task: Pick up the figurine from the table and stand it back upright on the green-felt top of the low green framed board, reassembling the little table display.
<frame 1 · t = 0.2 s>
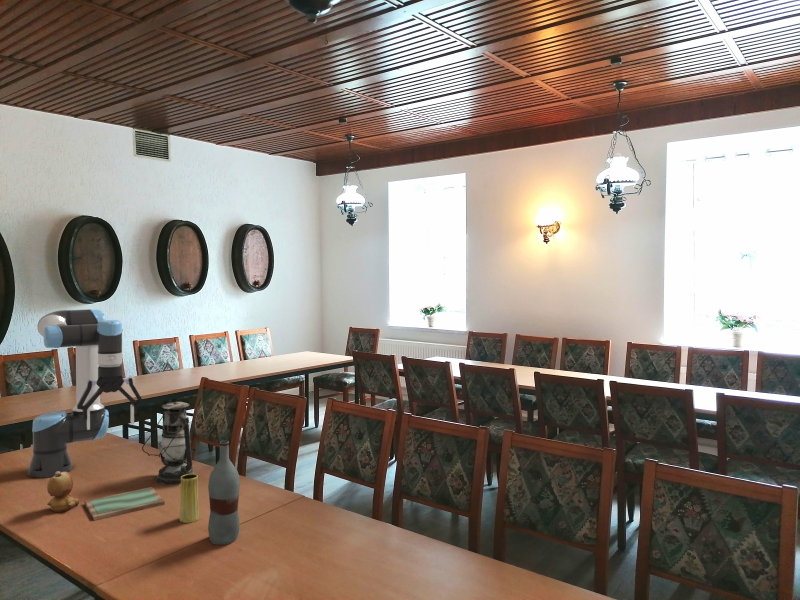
hand: (110, 426, 197), 27 cm above the table, fingers open, 13 cm apart
figurine: (61, 509, 194), on the table
lantern: (171, 480, 223), on the table
vase: (189, 519, 188), on the table
green framed board: (124, 504, 199), on the table
bottle: (224, 539, 174), on the table
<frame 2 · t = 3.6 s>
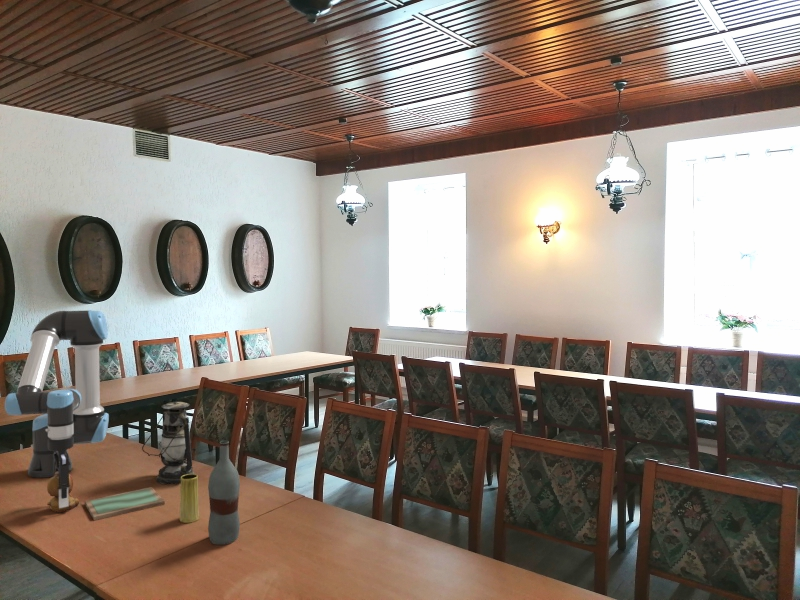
hand: (61, 502, 194), 2 cm above the table, fingers closed on figurine, 9 cm apart
figurine: (61, 510, 194), on the table, touching gripper
everything else where it was.
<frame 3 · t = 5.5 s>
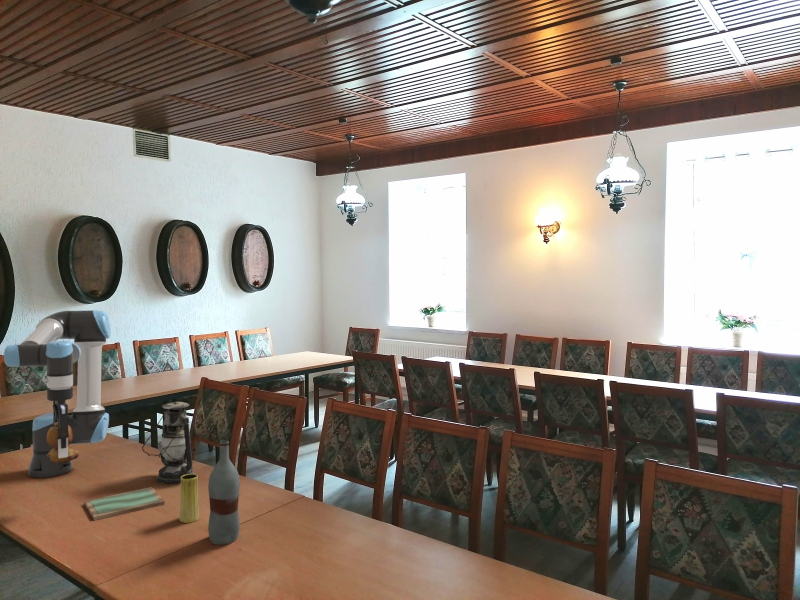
hand: (61, 453, 193), 19 cm above the table, fingers closed on figurine, 9 cm apart
figurine: (61, 461, 193), point 17 cm above the table, touching gripper
everything else where it was.
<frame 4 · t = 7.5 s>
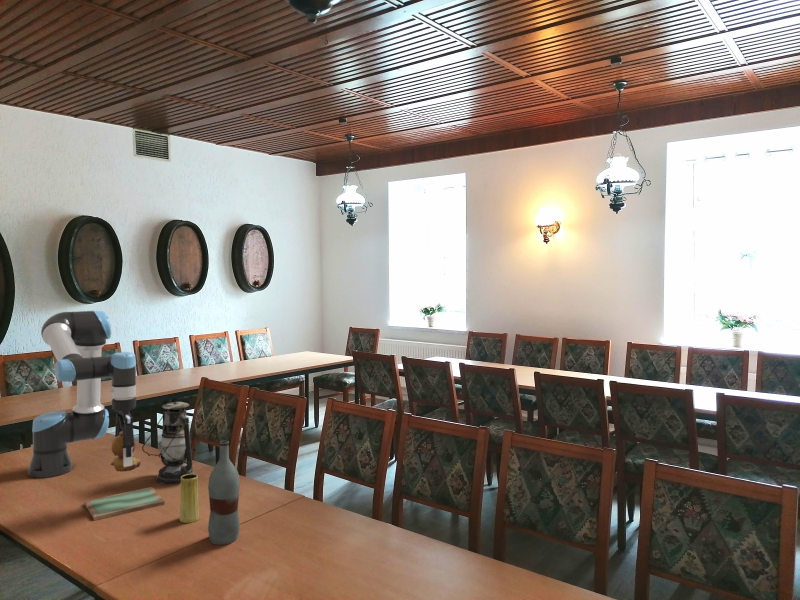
hand: (124, 462, 198), 15 cm above the table, fingers closed on figurine, 9 cm apart
figurine: (124, 469, 198), point 12 cm above the table, touching gripper
everything else where it was.
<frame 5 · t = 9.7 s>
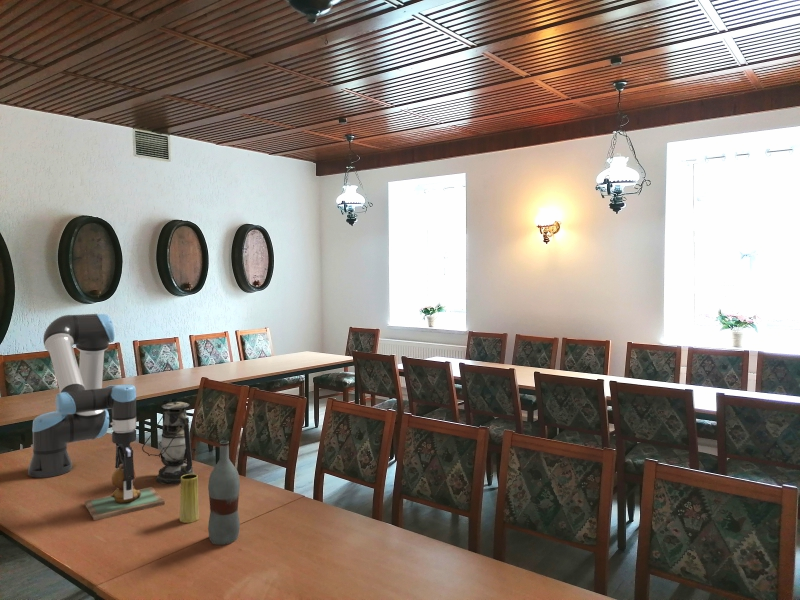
hand: (124, 494, 198), 4 cm above the table, fingers closed on figurine, 9 cm apart
figurine: (124, 501, 198), point 1 cm above the table, touching gripper, green framed board
everything else where it was.
when the fingers open (4 cm above the table, at t = 11.5 s): figurine stays where it is, resting on green framed board.
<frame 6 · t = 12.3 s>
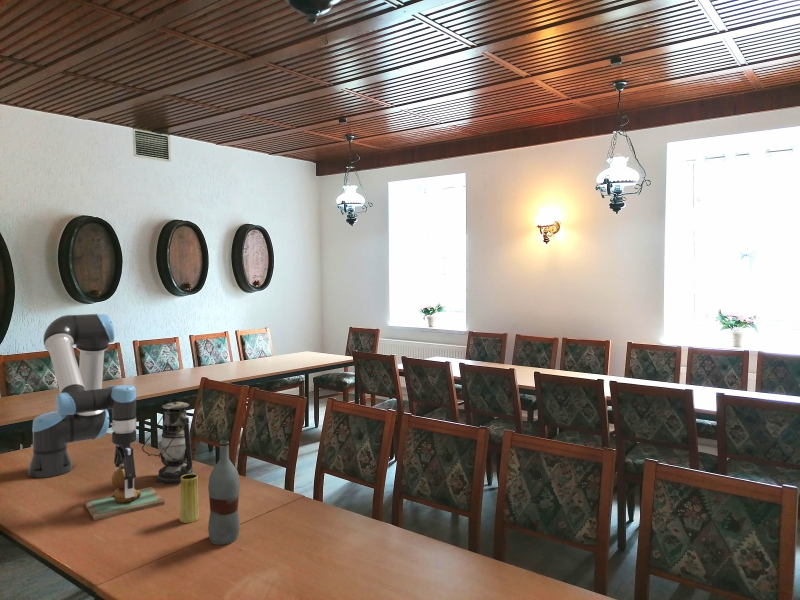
hand: (124, 491, 198), 5 cm above the table, fingers open, 13 cm apart
figurine: (124, 501, 198), point 1 cm above the table, touching green framed board
everything else where it was.
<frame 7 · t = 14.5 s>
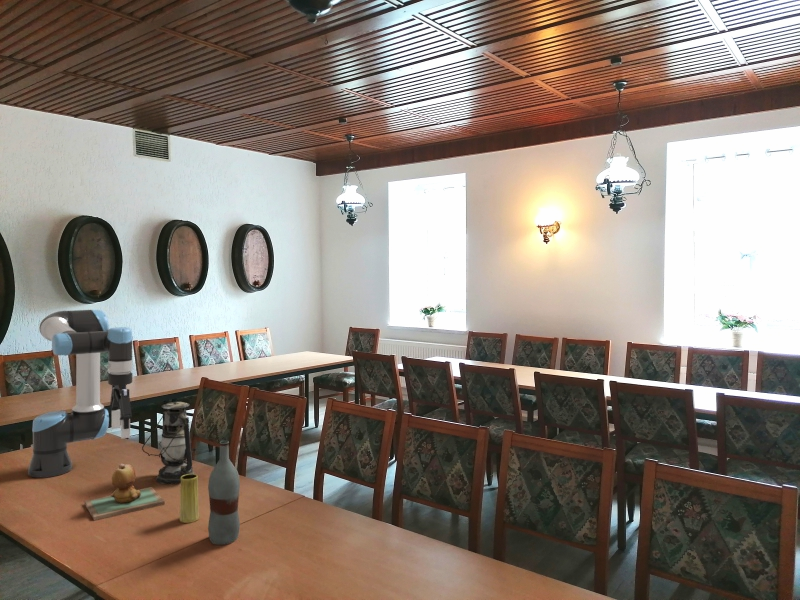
hand: (120, 433, 198), 25 cm above the table, fingers open, 13 cm apart
nothing on the table moved.
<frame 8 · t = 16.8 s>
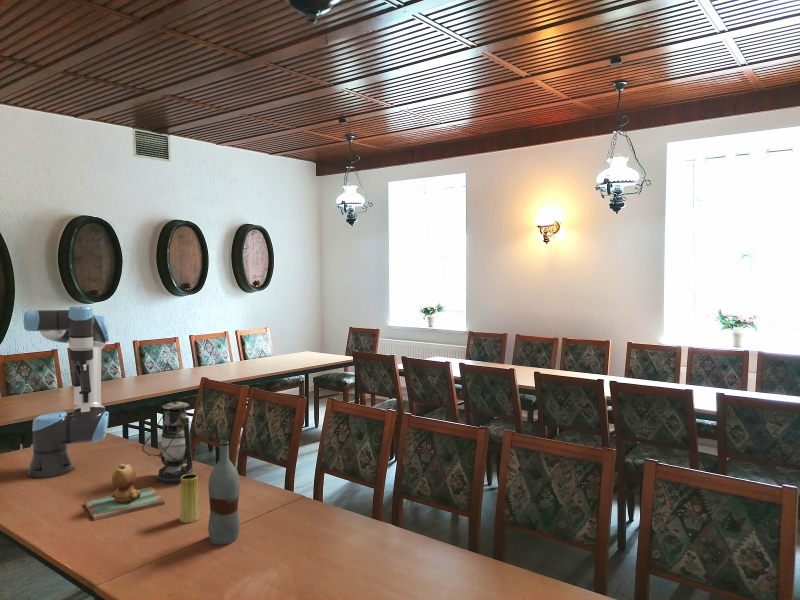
hand: (81, 407, 205), 32 cm above the table, fingers open, 13 cm apart
nothing on the table moved.
at the end: figurine inside the target area on the green framed board (0.3 cm from its centre), point 1.1 cm above the green framed board's base; figurine tilted 0°; the gripper is holding nothing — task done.
